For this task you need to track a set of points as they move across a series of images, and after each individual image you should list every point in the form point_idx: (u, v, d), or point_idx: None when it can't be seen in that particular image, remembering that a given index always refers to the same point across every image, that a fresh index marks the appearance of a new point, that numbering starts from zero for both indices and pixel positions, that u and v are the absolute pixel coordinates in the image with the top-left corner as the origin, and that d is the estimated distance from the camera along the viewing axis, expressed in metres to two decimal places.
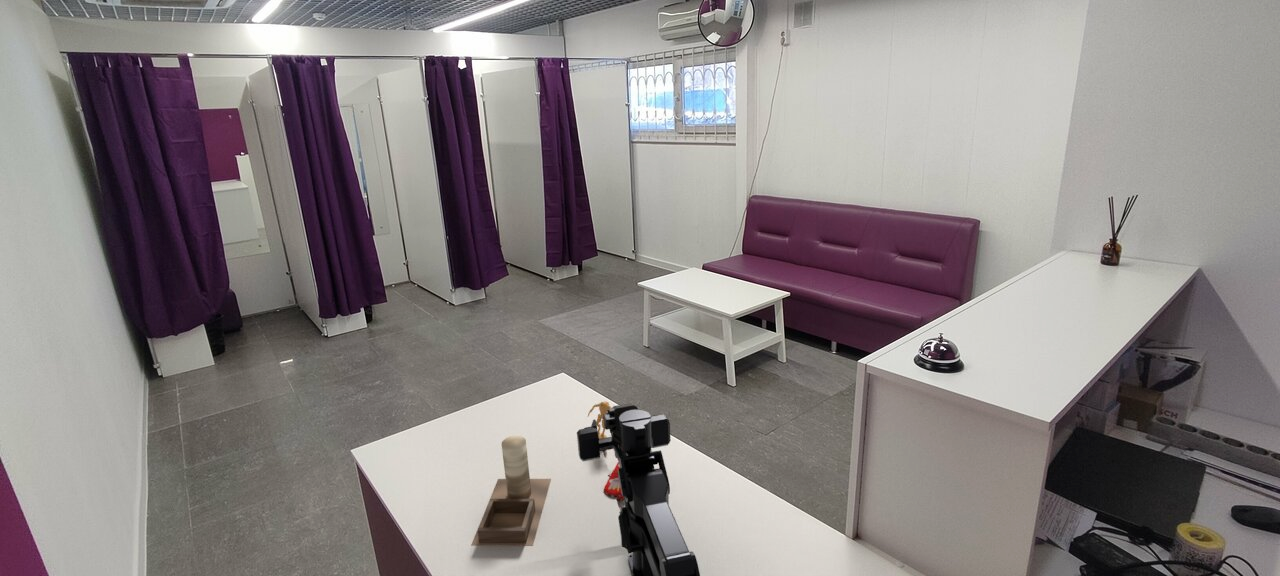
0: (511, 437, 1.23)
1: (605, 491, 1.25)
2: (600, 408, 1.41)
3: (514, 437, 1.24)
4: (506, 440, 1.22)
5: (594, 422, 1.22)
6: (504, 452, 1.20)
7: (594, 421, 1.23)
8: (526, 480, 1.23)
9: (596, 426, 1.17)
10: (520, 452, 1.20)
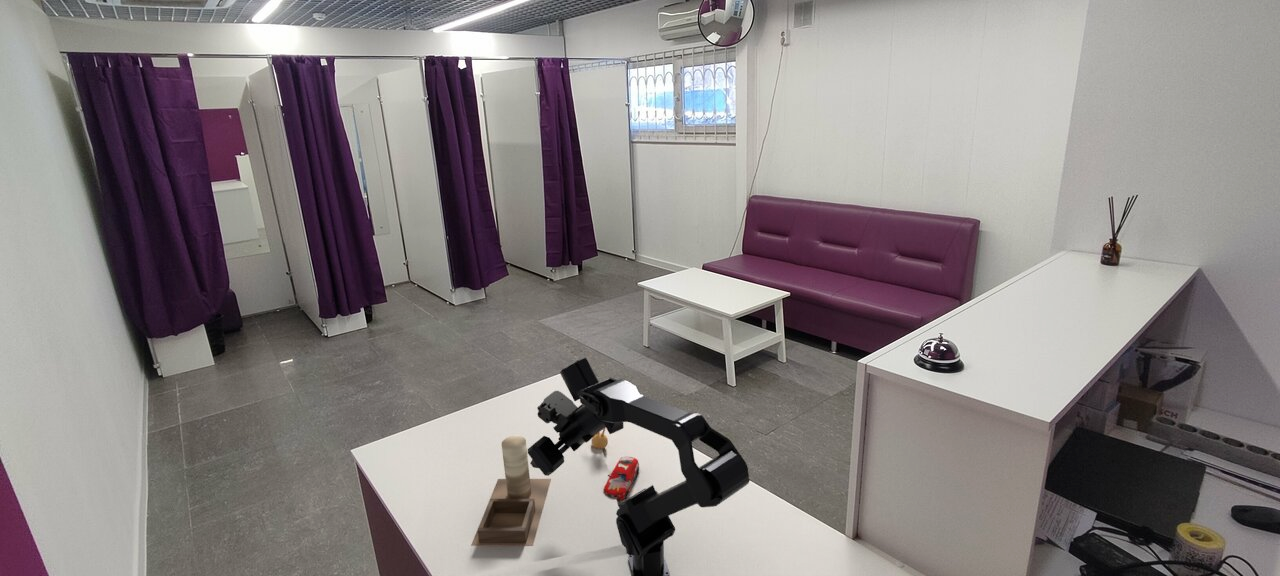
0: (511, 437, 1.23)
1: (605, 491, 1.25)
2: None
3: (514, 437, 1.24)
4: (506, 440, 1.22)
5: None
6: (504, 452, 1.20)
7: None
8: (526, 480, 1.23)
9: None
10: (520, 452, 1.20)
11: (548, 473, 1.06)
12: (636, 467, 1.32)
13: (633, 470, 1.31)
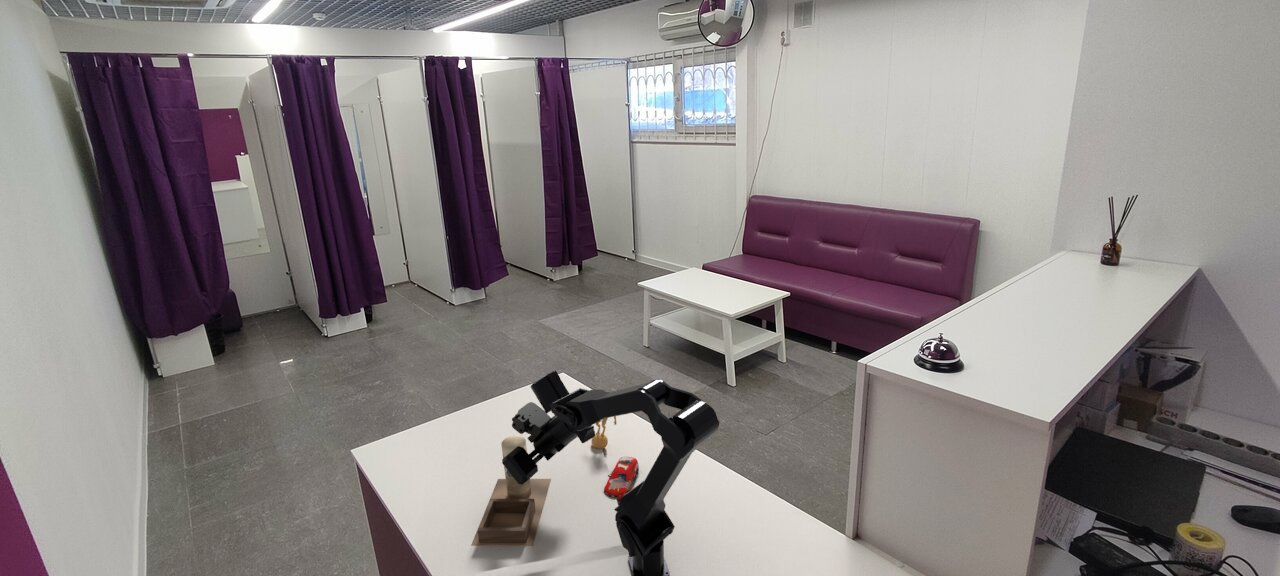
0: (511, 437, 1.24)
1: (605, 491, 1.25)
2: None
3: (513, 437, 1.24)
4: (506, 440, 1.22)
5: None
6: (504, 452, 1.20)
7: None
8: None
9: None
10: None
11: (522, 482, 1.10)
12: (636, 467, 1.32)
13: (632, 470, 1.31)
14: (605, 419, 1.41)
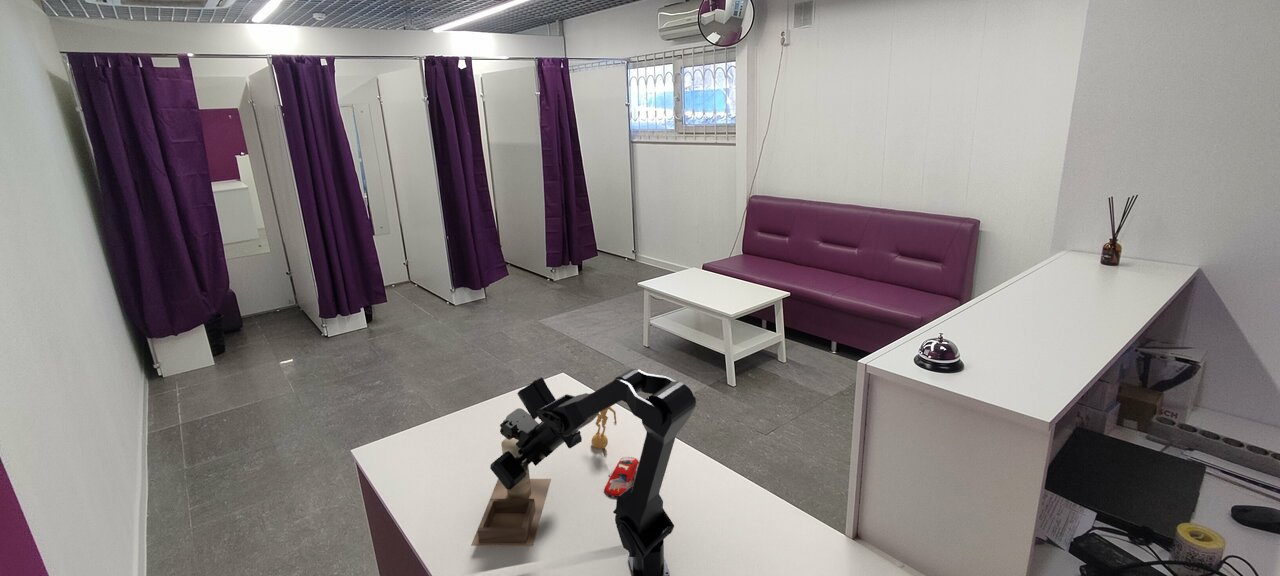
0: None
1: (605, 491, 1.25)
2: None
3: None
4: (506, 440, 1.22)
5: None
6: (504, 452, 1.20)
7: None
8: (526, 480, 1.23)
9: (508, 451, 1.18)
10: None
11: (510, 487, 1.12)
12: (637, 467, 1.32)
13: (633, 470, 1.30)
14: (605, 419, 1.41)
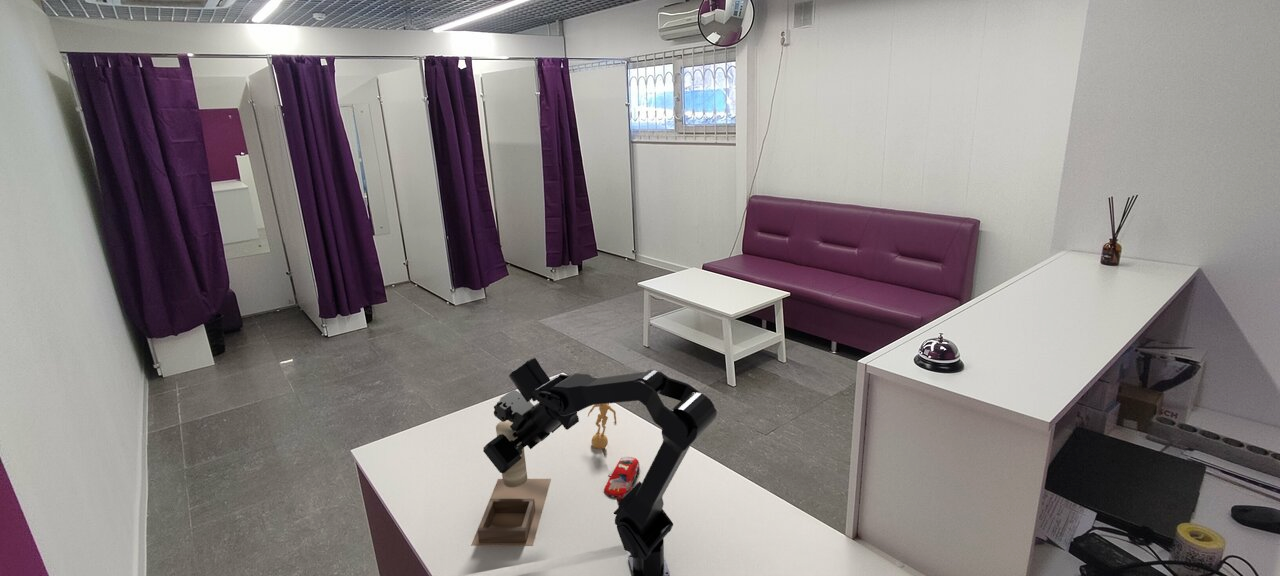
0: (506, 420, 1.19)
1: (605, 491, 1.25)
2: (600, 408, 1.41)
3: None
4: (501, 423, 1.18)
5: None
6: None
7: None
8: (522, 465, 1.19)
9: (502, 434, 1.14)
10: None
11: (503, 470, 1.08)
12: (636, 467, 1.32)
13: (633, 470, 1.30)
14: (605, 419, 1.41)
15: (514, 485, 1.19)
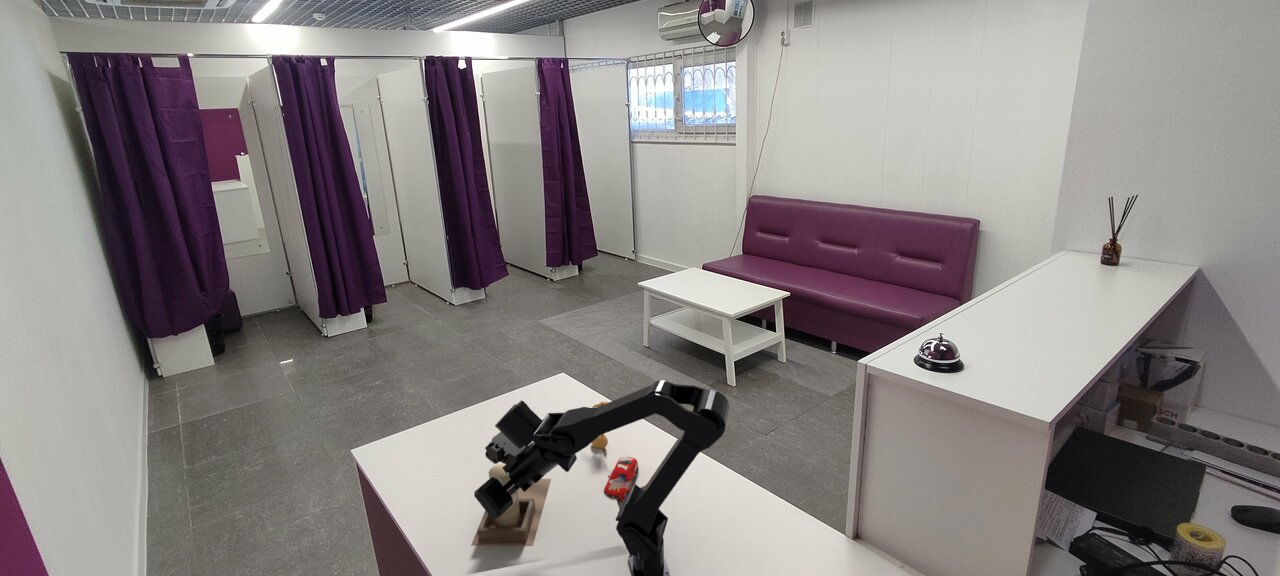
0: (499, 465, 1.14)
1: (605, 492, 1.25)
2: None
3: (502, 465, 1.15)
4: (494, 468, 1.13)
5: None
6: None
7: None
8: (515, 512, 1.14)
9: None
10: None
11: (495, 516, 1.02)
12: (636, 467, 1.32)
13: (632, 470, 1.31)
14: None
15: None
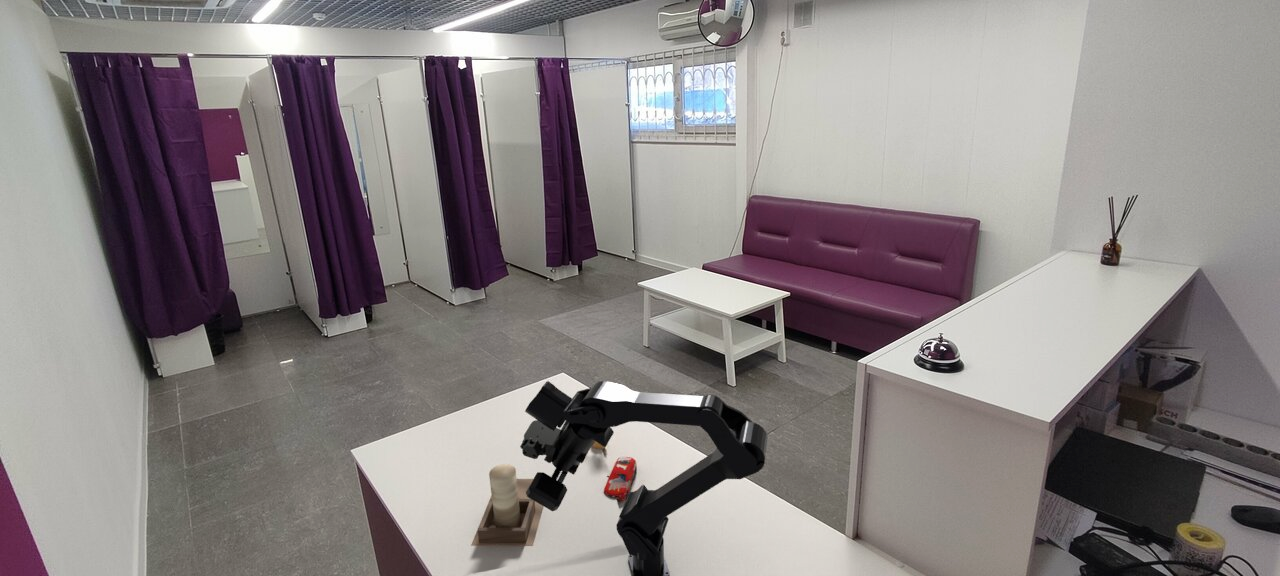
0: (500, 466, 1.14)
1: (605, 492, 1.25)
2: None
3: (502, 466, 1.14)
4: (494, 469, 1.13)
5: None
6: (492, 483, 1.11)
7: None
8: (515, 512, 1.14)
9: None
10: (509, 483, 1.11)
11: (555, 508, 1.00)
12: (634, 467, 1.32)
13: (631, 470, 1.31)
14: None
15: None
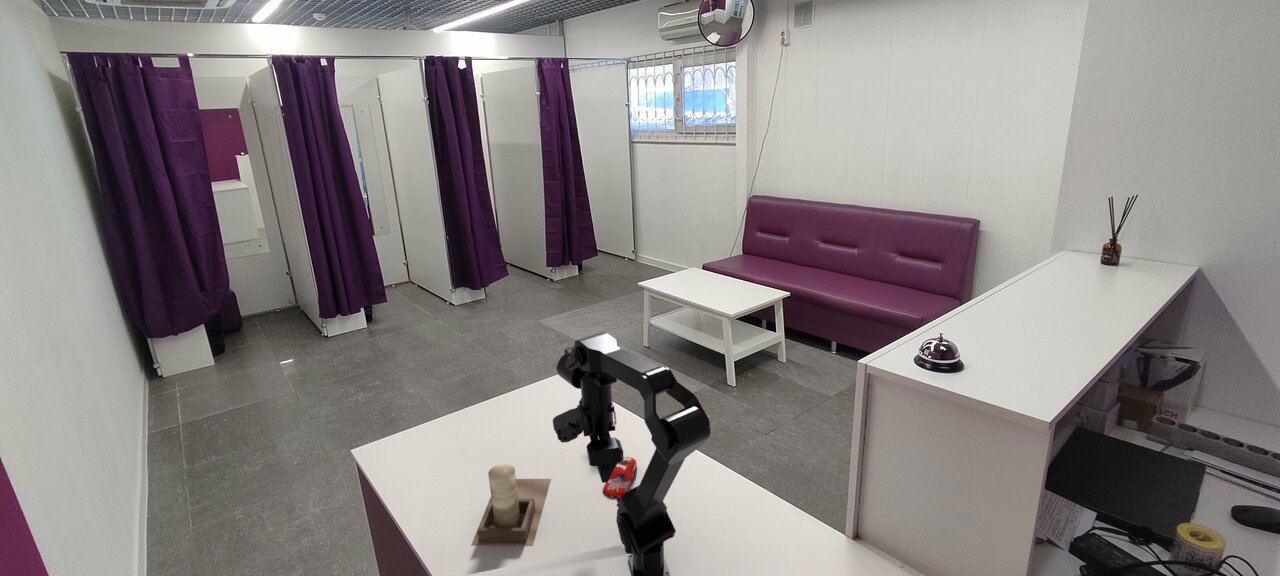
0: (499, 465, 1.14)
1: (604, 492, 1.25)
2: None
3: (502, 465, 1.14)
4: (493, 469, 1.13)
5: None
6: (491, 482, 1.11)
7: (600, 477, 1.10)
8: (515, 512, 1.14)
9: None
10: (508, 483, 1.11)
11: (621, 456, 1.04)
12: (634, 467, 1.32)
13: (631, 470, 1.31)
14: None
15: None
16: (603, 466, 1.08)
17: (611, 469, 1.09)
